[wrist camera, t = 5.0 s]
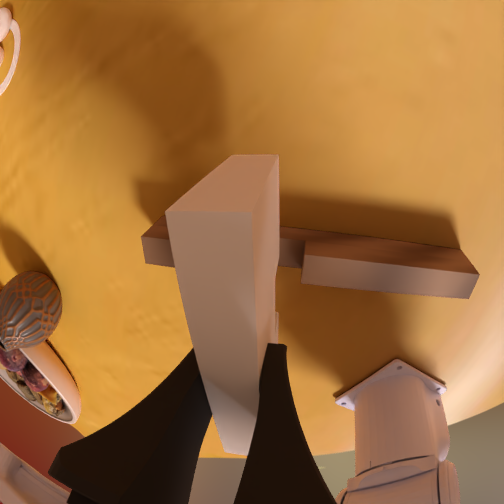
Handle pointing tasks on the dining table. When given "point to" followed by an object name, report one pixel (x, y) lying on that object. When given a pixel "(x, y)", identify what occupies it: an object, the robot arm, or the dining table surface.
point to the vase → (28, 310)
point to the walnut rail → (353, 262)
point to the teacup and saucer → (3, 22)
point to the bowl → (42, 381)
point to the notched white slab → (230, 284)
